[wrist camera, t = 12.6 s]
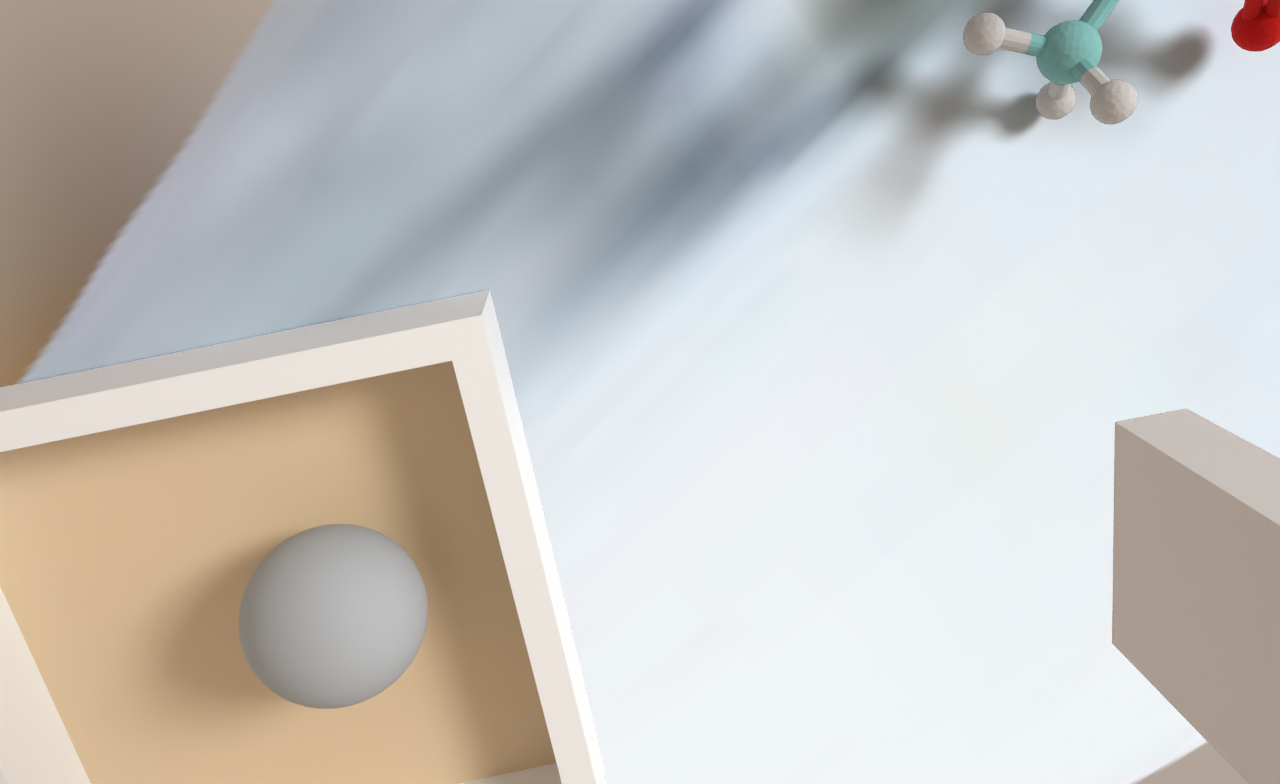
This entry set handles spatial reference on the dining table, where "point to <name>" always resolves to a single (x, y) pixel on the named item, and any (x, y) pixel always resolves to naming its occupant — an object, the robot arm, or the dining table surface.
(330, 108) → the dining table surface
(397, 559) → the ball
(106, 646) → the square serving dish
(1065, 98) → the molecular model
